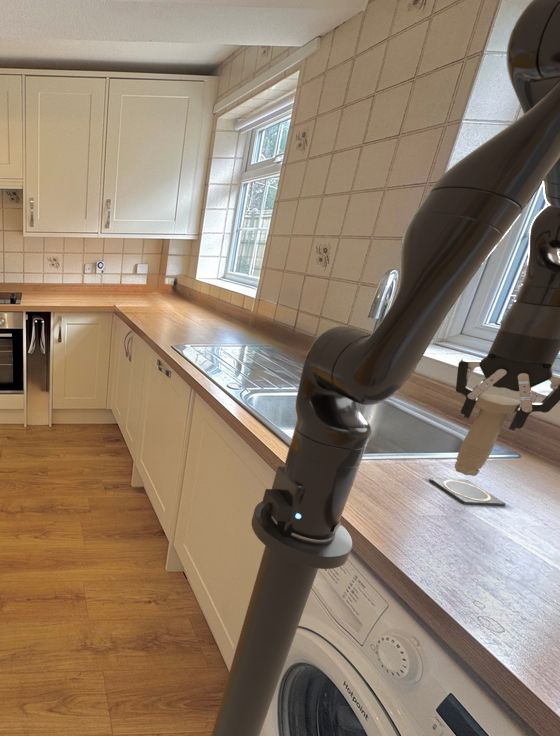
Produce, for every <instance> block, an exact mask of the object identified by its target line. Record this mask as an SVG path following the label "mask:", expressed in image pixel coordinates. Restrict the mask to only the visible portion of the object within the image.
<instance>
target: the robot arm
mask: <svg viewBox="0 0 560 736" xmlns="http://www.w3.org/2000/svg"><path fill="white" fill-rule="evenodd" d="M507 41H508V42H507V47H506V69H507V74H508V76H509V80H510V84H511V86H512V89H513V91H514V93H515V96H516V98H517V100H518V103H519V105H520V107H521V111H522V112H523V113H522V114H523V115H522V116H520V117H519V118H518V119H517V120H515V121H514V122H512V123H511V124H509V125H508V126H507V127H505V128H503V130H501V131H500V132H498V133H497V134H496V135H494V136H493V137H491V138H489V139H488V140H487V141H486V142H484V143H483V144H481V145H480V146H477V147H476V148H475V149H474V150H472V151H471V152H470V153H468V154H467V155H466V156H465V157H463V158H462V159H460V160H459V161H458V162H457V163H455V164H454V165H453V166H451V168H449V169H448V170H446V172H445V173H443V175H441V177H440V178H439V179H438V180H437V181H436V182H435V183H434V185H433V186H432V187H431V188H430V190H429V191H428V194H427V195H426V196H425V197H424V199H423V201H422V203H421V204H420V205H419V207H418V208H417V209H416V212H415V213H414V215H413V216H412V218H411V219H410V220H409V222H408V224H407V225H406V227H405V230H404V231H403V235H402V239H401V243H400V252H399V279H398V280H399V281H398V286H397V291H396V293H395V297H394V299H393V301H392V303H391V305H390V307H389V308H388V310H387V312H386V313H385V315H384V316H383V318H382V320H381V321H380V323H379V324H378V325H377V327H376V328H375V329H374V331H372V332H369V331H366V330H363V329H359V328H356V327H351V326H344V325H343V326H341V325H340V326H335V327H330V328H328V329H326V330H325V331H323V332H322V333H320V335H318V336H317V337H316V339H315V340H314V341H313V342H312V344H311V346H309V349H308V351H307V353H306V356H305V359H304V362H303V365H302V370H301V375H300V379H299V384H298V389H297V394H296V399H295V413H296V421H295V427H294V430H293V434H292V437H291V441H290V444H289V447H288V450H287V454H286V457H285V460H284V461H285V462H284V465H279V466H278V467H277V468H276V472H275V475H274V479H273V483H272V486H271V488H265V490H264V494H263V497H262V501H261V502H262V503H263V504H264V507H263V508H262V510H261V520H262V521H263V523H264V524H265V526H266V527H271V526H272V524H271V522H270V521H269V519H268V517H269V518H270V520H271V521H272V523H273V524H274V525H275V527H276V528H277V529H278V531H279V532H280V534H281V535H282V536H283V537H290V538H293V539H295V540H298V541H300V542H303V543H307V544H312V545H326V544H329V543H331V542H332V541H333V540H334V538H335V535H336V530H337V529H338V528H339V526H340V524H341V525H342V521H341V518H342V515H343V513H344V510H345V507H346V504H347V502H348V498H349V496H350V494H351V490H352V488H353V485H354V483H355V479H356V476H357V474H358V471H359V468H360V466H361V462H362V459H363V457H364V454H365V452H366V448H367V445H368V443H369V440H370V438H371V433H372V426H371V424H370V422H369V421H368V420H367V418H366V417H365V416H364V415H363V413H362V412H361V410H360V408H359V407H358V404H359V405H363V406H374V405H378V404H380V403H384V402H385V401H387V400H389V399H390V398H391V397H393V396H394V395H396V394H397V392H399V391H400V390H401V389H402V387H403V386H404V385H406V383H407V381H408V380H409V379H410V377H411V376H412V374H413V373H414V371H415V370H416V368H417V367H418V365H419V363H420V361H422V359H423V356H424V354H425V353H426V351H427V349H428V348H429V346H430V344H431V343H432V341H433V339H434V337H435V336H436V335H437V332H438V331H439V329H440V327H441V325H442V324H443V322H444V321H445V319H446V318H447V315H448V314H449V313H450V312H451V310H452V309H453V307H454V305H455V304H456V302H457V301H458V299H459V298H460V296H461V295H462V294H463V292H464V290H466V288H467V286H468V285H469V284H470V282H471V281H472V280H473V278H474V276H475V275H476V274H477V272H478V271H479V270H480V268H481V267H482V265H483V264H484V262H485V261H486V260H487V259H488V257H490V255H491V254H492V252H493V251H494V250H495V249H496V247H497V246H499V244H500V242H501V241H502V240H503V239H504V237H505V236H506V235H507V233H508V232H509V230H511V228H512V226H514V224H515V222H516V221H517V220H518V219H519V217H520V216H521V214H522V213H523V212H524V210H525V209H526V208H527V206H528V204H529V203H530V201H531V200H532V199H533V197H534V196H535V194H536V193H537V191H538V190H539V189H540V186H541V185H542V187H543V196H544V200H545V202H546V203H547V204H548V205H547V206H545V207H544V208H543V209H541V210H540V211H539V212H538V213H537V214H536V216H535V217H534V219H533V220H532V223H531V225H530V228H529V236H528V237H529V239H528V258H527V265H526V270H525V274H524V278H523V280H522V283H521V285H520V287H519V289H518V291H517V294H516V296H515V298H514V301H513V302H512V304H511V306H510V307H509V309H508V310H507V312H506V313H505V315H504V318H503V320H502V321H501V323H500V326H499V329H498V331H497V333H496V335H495V338H494V340H493V342H492V344H491V347H490V349H489V351H488V353H487V355H486V356H485V357H483V358H482V359H481V360H469V359H468V358H462V359H461V360H460V361H459V362H458V363H457V374H456V383H455V391H456V393H458V394H461V395H463V396H464V397H465V401H464V403H463V404H462V407H461V410H460V414H461V415H463V418H464V419H468V420H469V419H470V417H471V414H472V413H473V411H474V408H475V406H476V404H477V399H478V397H479V395H482V394H484V392H486V391H488V390H489V389H490V388H491V387H494V388H498V389H499V388H501V389H506V390H509V391H513V392H518V393H519V399H520V403H521V405H520V407H519V409H518V410H517V411H516V412H515V413H514V416H513V417H512V419H511V422H510V423H509V426H508V430H509V431H513V432H515V430H516V429H518V430H521V429H522V428H523V427H524V426H525V424H526V421H527V419H528V418H529V416H530V414H532V413H534V412H535V413H536V412H538V413H540V412H541V413H544V414H545V413H546V414H547V413H549V412H550V411H551V410H552V409H553V408H554V407H555V406H556V405H557V404H558V403H559V402H560V376H559V375H557V374H554V373H553V369H552V367H553V365H554V364H555V361H556V359H557V358H558V356H559V353H560V256H559V250H560V0H531V1H530V2H529V3H528V5H526V7H525V8H524V10H523V11H522V13H521V14H520V15H519V17H518V19H517V20H516V21H515V24H514V25H513V28H512V30H511V32H510V35H509V39H508V40H507ZM476 368H479V369H480V370H481V372H482V374H483V376H484V378H483V379H482V380H481V381H480V382H479V383H478V384H476V385H475V386H474V387H473V388H471V387H469V386H468V378H469V373H473V372H474V371H475V369H476ZM547 381H550V384H549V387H550V389H551V392H549V393H548V394H547V396H545V398H544V399H542V401H541V402H533V393H532V388H534V387H537V386H538V385H540V384H542V383H545V382H547ZM267 516H268V517H267Z"/></svg>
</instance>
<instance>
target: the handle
mask: <svg viewBox="0 0 560 736" xmlns="http://www.w3.org/2000/svg"><path fill="white" fill-rule="evenodd" d="M477 398H478V399H477V401H476V404H477V405H478V406H479V407H480V410H479V412H478V414H477V416H476V418H475V420H474V421H473V422H472V424H471V427H470V428H469V430H468V432H467V434H466V435H465V438H464V439H463V441H462V443H461V445H460V447H459V450H458V454H457V456H456V461H455V463H454V469H455V471H456V472H458V473H461V474H463V475H464V476H472V477H475V476H477V475H478V474H479V473H480V469H482V467H484V465H485V464H486V462H487V460H488V459H489V457H490V456H491V453H492V452H493V449H494V447H495V444H496V442H497V440H498V437H499V435H500V432H501V429H502V427H503V424H504V422H505V420H506V418H507V416H508V415H509V414H515V413H516V411H517V410H518V409H519V408H520V407H521V400H517V399H516V398H515V399H514V398H512V397H509V396H505V395H499V394H494V393H493V394H492V393H482V394H481V395H479V396H478V397H477Z"/></svg>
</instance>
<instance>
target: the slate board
mask: <svg viewBox="0 0 560 736" xmlns="http://www.w3.org/2000/svg"><path fill="white" fill-rule="evenodd" d="M429 482H431V483H432V484H433V485H435V486H436V487H438V488H440V489H441V490H442V491H444V492H445V493H446V494H448V495H450V496H451V497H453V499H456V500H457V501H459V502H460V503H461V504H463V505H475V506H479V505H480V506H498V507H499V506H501V507H506V503H505V502H504V501H502V500H501V499H500V498H498V497H495V496H494V495H492V494H491V493H490V492H488V491H486V490H484V489H483V488H482V487H480V486H478V485H476V484H475V483H473V482H472V481H470V480H469V479H451V478H429Z"/></svg>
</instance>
